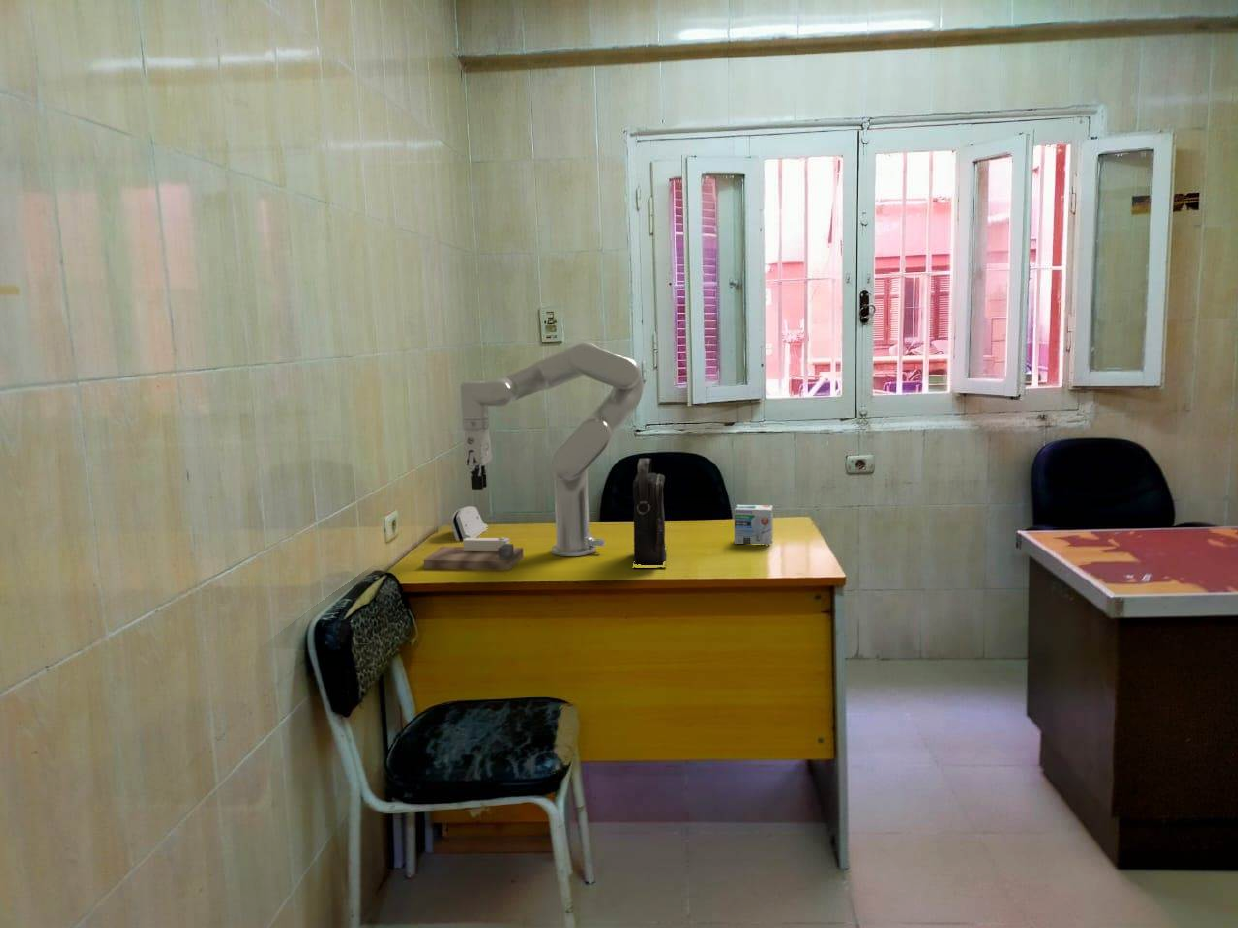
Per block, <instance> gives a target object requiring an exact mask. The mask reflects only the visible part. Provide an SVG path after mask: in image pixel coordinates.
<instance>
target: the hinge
mask: <svg viewBox="0 0 1238 928" xmlns="http://www.w3.org/2000/svg"><path fill="white" fill-rule="evenodd" d="M449 525H450V526H451V529H452V533H453V536H454V539H455V541H456V542H460V541H463V540H464V539H466V538H476V537H477V536H478V535H480V534H481V533H482V532H483V531H486V529H488V528H489V526H488V524H487V523H485V522H484V521H483V520H482V517H481V516H480V513H479V511H478V509H477V508H476V507H475V506H469V505H468V506H465V507H462V508H459V509H457V510H456V511H455V512H453V513H452V515H451V516H450V518H449ZM486 527H488V528H486ZM486 532H487V531H486ZM480 536H481V535H480Z"/></svg>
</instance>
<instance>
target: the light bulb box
mask: <svg viewBox="0 0 1238 928" xmlns="http://www.w3.org/2000/svg"><path fill="white" fill-rule="evenodd" d="M773 507H774V506H773V504H767V505H764V504H736V507H735V508H734V545H735V544H761V545H762V544H764V545H770V544H771V545H772V543H771V542H773V541H772V539H773V537H774V536H773V528H774V527H773V526H774V525H773V522H774V519H773V516H774V515H773V514H774V513H773V511H774V508H773Z"/></svg>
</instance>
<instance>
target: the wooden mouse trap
mask: <svg viewBox="0 0 1238 928" xmlns="http://www.w3.org/2000/svg"><path fill="white" fill-rule="evenodd" d="M523 558H524V548H522V547H514V544H513V543H512V544H511V543H509V544H504V545H503V546H501V547H500V548H499V551H464V549H463V546H462V547H461V546H458V547H457V546H441V547H440V548H438V549H437V550H436V551H434V552H432V553H431V554H430V555H428V556H427V557H426V558H424V559H423V569H424V570H425V569H426V570H428V569H429V570H463V571H464V570H465V571H466V570H468V571H469V570H470V571H471V570H472V571H476V570H477V571H510V570H511V569H512V568H513V567H514V566H515V565H516V564H517V563H519V562H520V561H522V559H523Z"/></svg>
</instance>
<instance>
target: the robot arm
mask: <svg viewBox="0 0 1238 928" xmlns="http://www.w3.org/2000/svg"><path fill="white" fill-rule="evenodd" d="M582 376H585V377H587V378H590V379H593V380H595V381H596V382H597V381H598V382H600V383H602V384H606V385H609V386H611V387H612V389H611V391H610V392H609V394H608V395H607V396H606V397H604V400H603V401H602V402H601V403H600V404H599V405H598V407H596V408H595V409H594V411H593V412H592V413H591V414H590V415H588V416H587V417H586V418H585V419H583V421H582V422H581V423H580V424H579V426H578V427H577V428H576V429H575V430H574V431H573V433H571V434H570V436H569V437H568V438H566V440H565V441H564V442H563V443H561V444H560V445H559V446H558V447H557V448H556V449H555V451H554V453H553V454H552V456H551V459H550V468H551V471H552V473H553V475H554V504H555V505H554V506H555V526H556V544H555V545H553V546H552V547H551V552H552V554H553V555H556V556H563V557H579V556H586V555H589V554H593V553H594V552H595V551H596V550H597V549H596V546H597V547H605V543H606V542H605V539H603V538H599V537H598V538H595V537H593V533H591V532H590V529H591V528H590V505H589V503H590V502H589V467H590V466H591V465H593V464H594V463H595V461H596V460H598V458H599V457H600V456H601V455H602V454H603V453H604V451H605V450H607V448H608V447H609V445H610V443H611V442H612V439H613V437H614V435H615V434H616V433H617V432H618V430H619V429H620V428H621V427H622V426H623V425H624V424H625V423H626V421H627V420H628V419H629V418H630V416H631V415H632V414H633V413H634V412H635V410H636V409H637V407H638V406H639V404H640V403H641V400H642V396H643V393H644V378H643V374H642V371H641V367H640V365H639V363H638V362H637V361H636V360H635V359H633V358H632V357H629V356H622V355H620V354H616V353H613V352H610V351H608V350H607V349H603V348H600V347H598V346H597V345H596V344H594V343H592V342H588V341H584V342H579V343H578V344H575V345H573V346H571V347H567V348H566V349H564V350H562V351H561V350H560V351H558V352H556V353H554V354H551V355H549V356H546V357H544V358H542V359H539V360H537V361H536V362H535V363H533V364H532V365H530V366H528V367H525V368H523V369H520V370H519V371H516V372H514V373H511V374H509V375H506V376H504V377H501V378H499V379H496V380H491V381H484V380H465V381H462V382H461V384H460V385H459V386H460V403H461V405H460V406H461V407H460V408H461V418H462V419H461V422H462V424H461V425H462V431H463V432H464V457H465V464H466V466H468V470H469V471H470V479H471V482H470V483H471V490H473V491H483V490H484V489H485V488H487V486H488V485H487V484H488V483H487V480H488V479H487V464H489V463H490V462H492V461H493V456H492V455H493V453H492V444H491V437H490V436H491V435H490V429H491V428H490V427H491V426H490V416H489V415H490V414H489V413H490V411H489V407H496V408H501V407H506V406H507V405H509V404H511V403H513V402H515V401H518V400H520V399H523V398H525V397H528V396H530V395H533V394H535V393H537V392H541V391H544V390H545V391H546V390H551V389H554V388H556V387H558V386H561V385H563V384H566V383H568V382H571V381H573V380H576V379H578V378H580V377H582Z"/></svg>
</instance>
